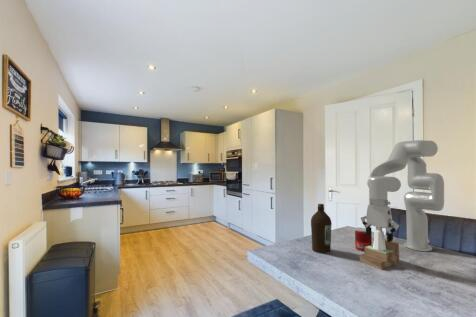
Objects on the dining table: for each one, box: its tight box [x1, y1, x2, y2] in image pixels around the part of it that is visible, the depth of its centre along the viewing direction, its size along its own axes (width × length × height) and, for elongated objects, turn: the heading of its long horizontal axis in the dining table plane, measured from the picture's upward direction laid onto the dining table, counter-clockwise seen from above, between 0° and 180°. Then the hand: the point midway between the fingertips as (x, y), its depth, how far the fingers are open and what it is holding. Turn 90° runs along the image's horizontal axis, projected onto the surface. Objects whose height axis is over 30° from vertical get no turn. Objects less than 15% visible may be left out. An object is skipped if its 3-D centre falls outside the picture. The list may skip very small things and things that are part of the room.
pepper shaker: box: [372, 226, 386, 251], centre depth 109 cm, size 5×5×11 cm
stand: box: [359, 237, 400, 271], centre depth 108 cm, size 15×11×10 cm
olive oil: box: [310, 203, 333, 254], centre depth 124 cm, size 11×11×25 cm
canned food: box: [354, 227, 373, 253], centre depth 125 cm, size 8×8×11 cm
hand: (378, 238), depth 109 cm, fingers open, 9 cm apart
